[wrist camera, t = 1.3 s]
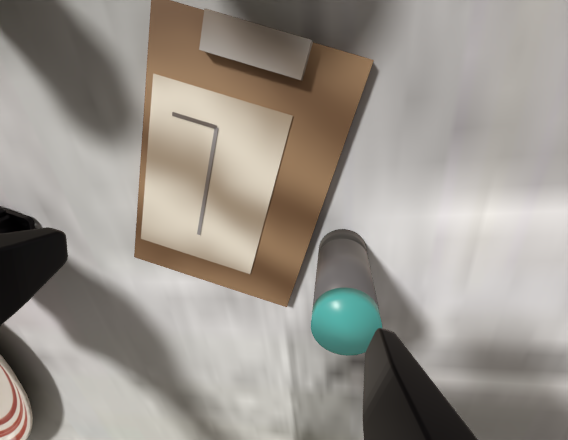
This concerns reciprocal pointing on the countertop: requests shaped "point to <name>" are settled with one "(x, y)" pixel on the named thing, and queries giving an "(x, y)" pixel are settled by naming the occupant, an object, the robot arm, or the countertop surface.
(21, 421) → the dinner plate
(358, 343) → the marker
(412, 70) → the countertop surface
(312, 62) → the clipboard
